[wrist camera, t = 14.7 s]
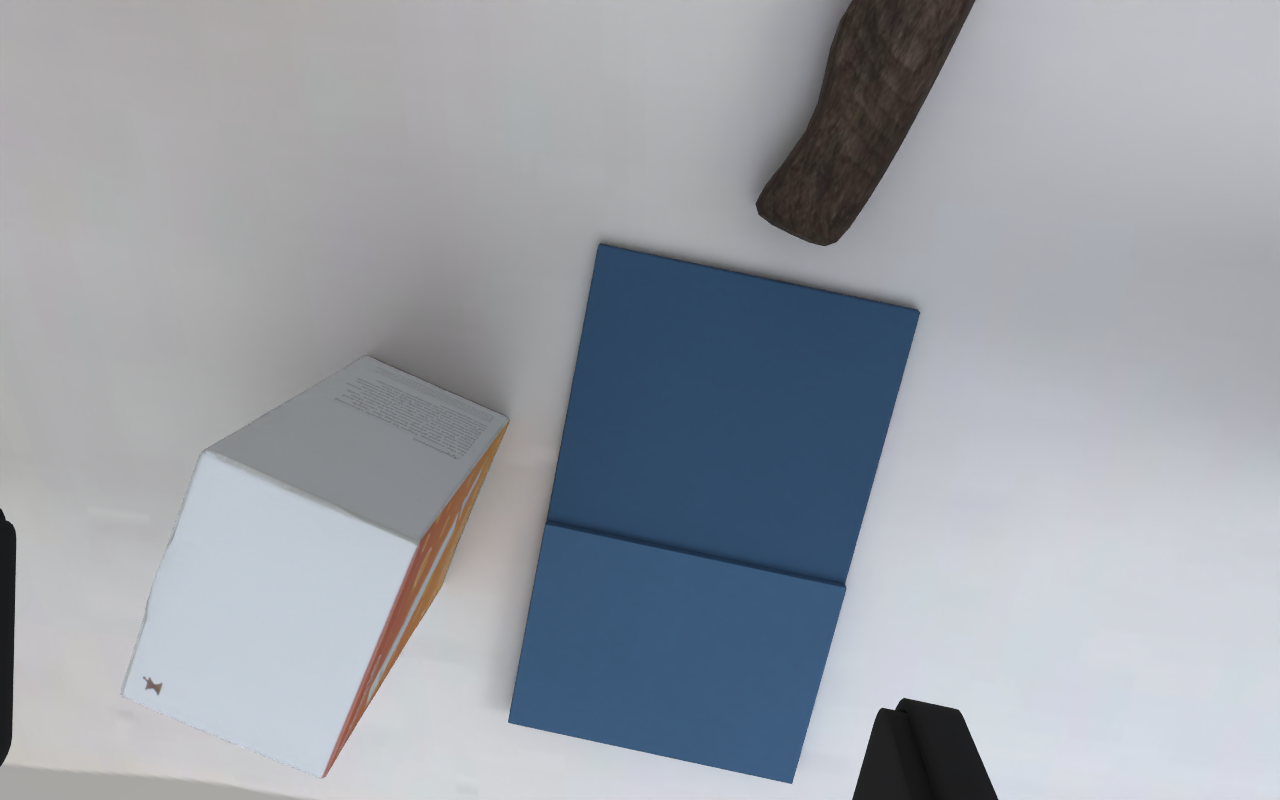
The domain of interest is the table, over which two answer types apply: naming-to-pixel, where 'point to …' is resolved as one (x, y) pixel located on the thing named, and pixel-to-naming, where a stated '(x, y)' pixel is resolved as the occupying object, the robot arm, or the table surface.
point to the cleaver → (861, 113)
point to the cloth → (705, 510)
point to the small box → (310, 561)
